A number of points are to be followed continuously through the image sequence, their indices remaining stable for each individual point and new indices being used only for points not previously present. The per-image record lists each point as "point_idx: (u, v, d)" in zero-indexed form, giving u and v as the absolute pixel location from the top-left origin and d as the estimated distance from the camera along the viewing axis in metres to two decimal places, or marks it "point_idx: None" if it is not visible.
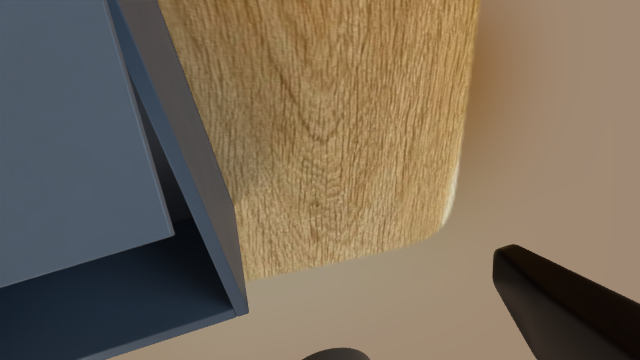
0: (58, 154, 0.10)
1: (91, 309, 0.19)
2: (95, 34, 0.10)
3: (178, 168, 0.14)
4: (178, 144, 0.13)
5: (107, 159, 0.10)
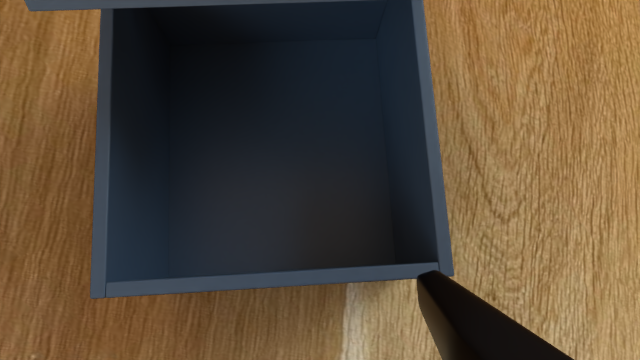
0: None
1: None
2: None
3: (424, 78, 0.16)
4: (429, 59, 0.16)
5: None
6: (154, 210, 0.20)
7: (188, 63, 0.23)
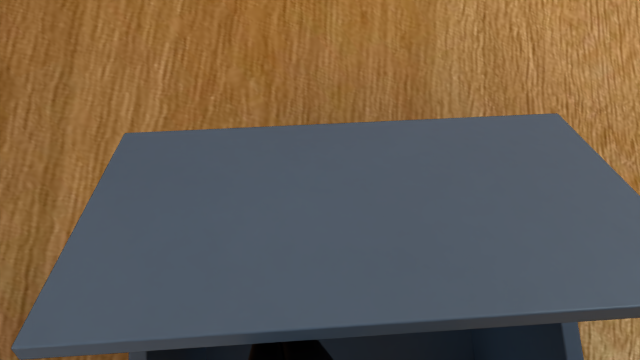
0: (567, 210, 0.09)
1: None
2: (575, 145, 0.11)
3: (569, 333, 0.12)
4: None
5: (622, 220, 0.09)
6: None
7: None
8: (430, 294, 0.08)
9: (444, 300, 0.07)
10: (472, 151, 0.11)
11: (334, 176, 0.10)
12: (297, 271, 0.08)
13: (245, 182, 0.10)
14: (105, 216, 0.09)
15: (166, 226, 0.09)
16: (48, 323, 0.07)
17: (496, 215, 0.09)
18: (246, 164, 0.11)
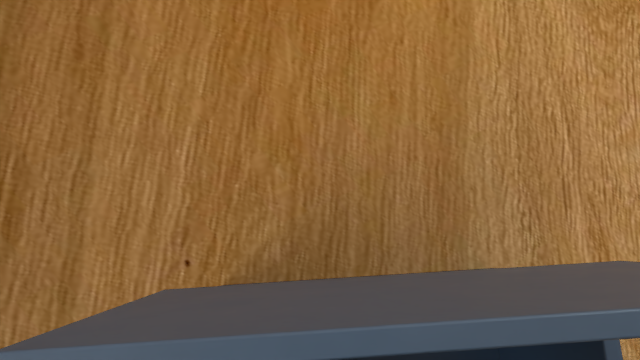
0: None
1: None
2: None
3: None
4: None
5: None
6: None
7: None
8: (554, 305, 0.06)
9: (576, 306, 0.06)
10: (544, 272, 0.10)
11: (397, 285, 0.09)
12: (372, 309, 0.06)
13: (297, 292, 0.09)
14: (136, 309, 0.08)
15: (207, 306, 0.08)
16: (47, 341, 0.05)
17: (599, 282, 0.08)
18: (296, 288, 0.10)
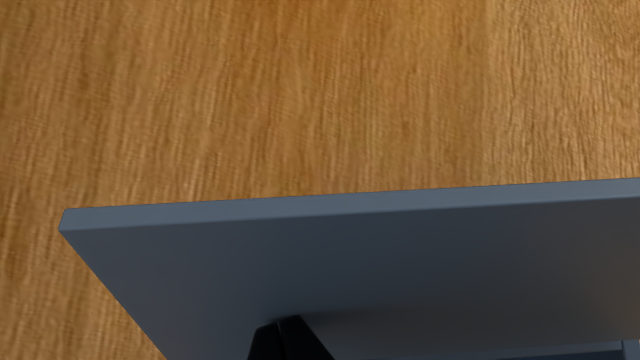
0: None
1: None
2: None
3: None
4: None
5: None
6: None
7: None
8: None
9: None
10: None
11: None
12: None
13: None
14: None
15: None
16: None
17: None
18: None
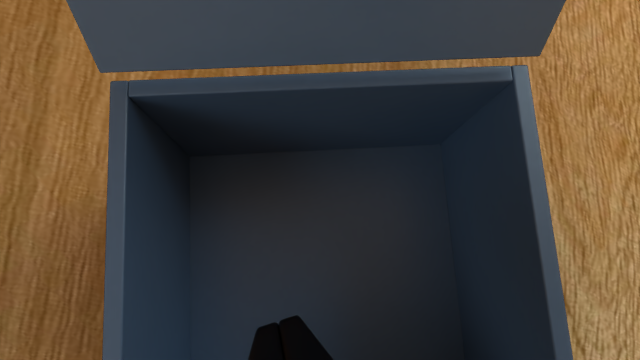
0: None
1: None
2: None
3: (549, 270, 0.12)
4: (554, 241, 0.12)
5: None
6: None
7: (212, 179, 0.19)
8: None
9: None
10: None
11: None
12: None
13: None
14: None
15: None
16: None
17: None
18: None
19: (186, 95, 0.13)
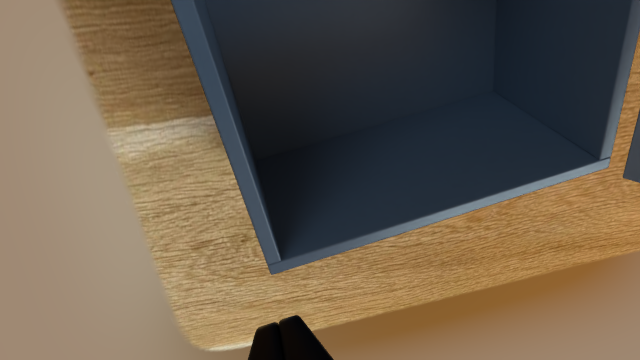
0: None
1: (222, 71, 0.14)
2: None
3: (461, 208, 0.16)
4: (480, 207, 0.16)
5: None
6: None
7: None
8: None
9: None
10: None
11: None
12: None
13: None
14: None
15: None
16: None
17: None
18: None
19: None
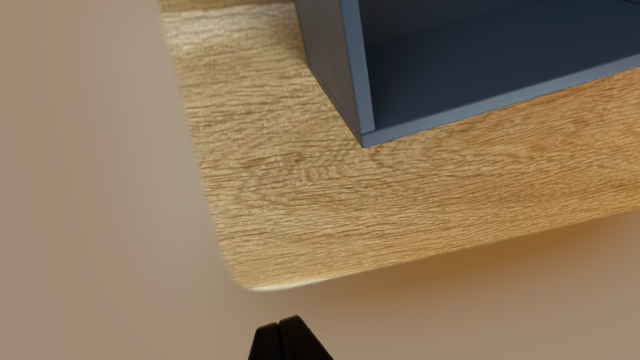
0: None
1: None
2: None
3: (575, 78, 0.14)
4: (593, 79, 0.14)
5: None
6: None
7: None
8: None
9: None
10: None
11: None
12: None
13: None
14: None
15: None
16: None
17: None
18: None
19: None
